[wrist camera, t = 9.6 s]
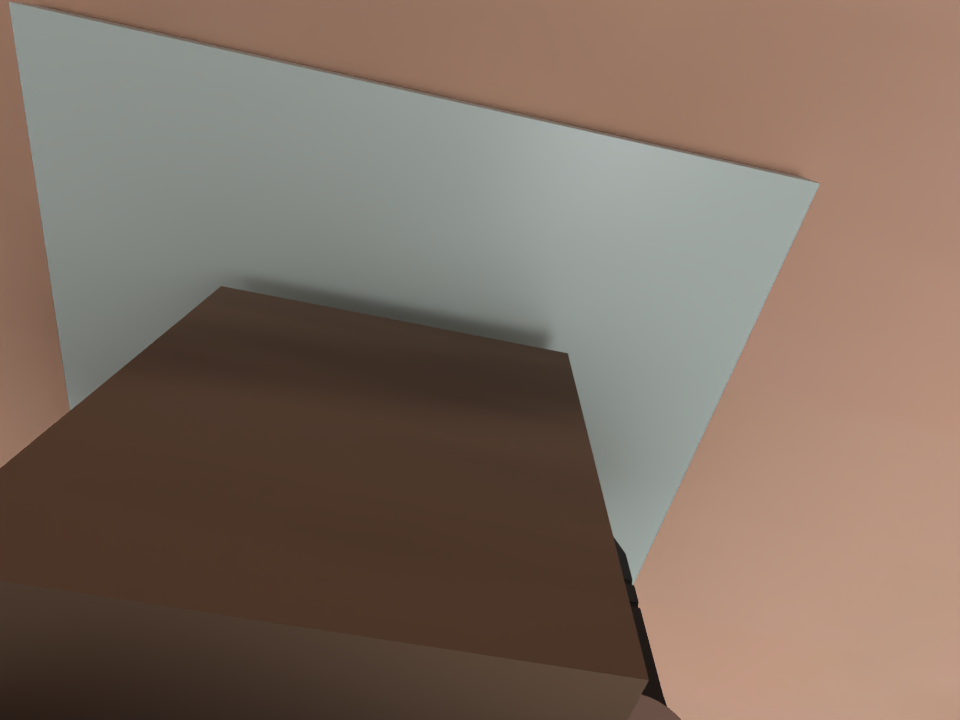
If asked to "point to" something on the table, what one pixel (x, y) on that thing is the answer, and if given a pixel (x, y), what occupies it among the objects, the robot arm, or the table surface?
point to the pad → (397, 228)
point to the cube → (315, 532)
